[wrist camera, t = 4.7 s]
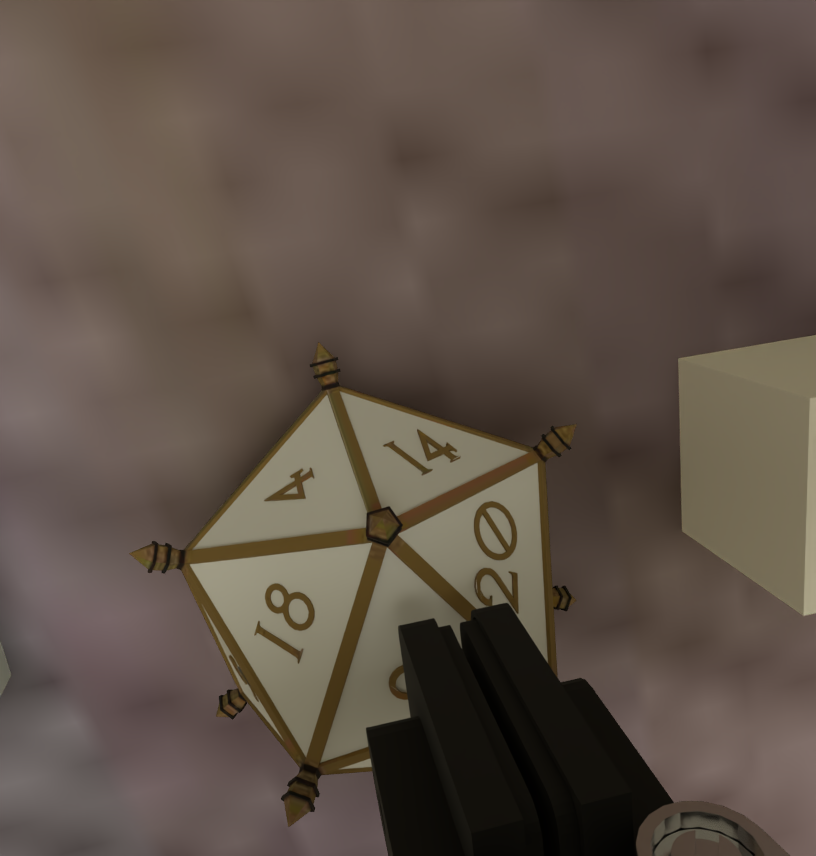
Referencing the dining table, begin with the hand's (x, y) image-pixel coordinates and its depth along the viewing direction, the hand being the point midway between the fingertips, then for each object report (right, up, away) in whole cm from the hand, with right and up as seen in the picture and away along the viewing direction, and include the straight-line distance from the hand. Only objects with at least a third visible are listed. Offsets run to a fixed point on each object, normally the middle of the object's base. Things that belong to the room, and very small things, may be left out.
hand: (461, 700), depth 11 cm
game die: (-2, +2, +8) cm, 9 cm away
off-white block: (+9, +4, +10) cm, 14 cm away
